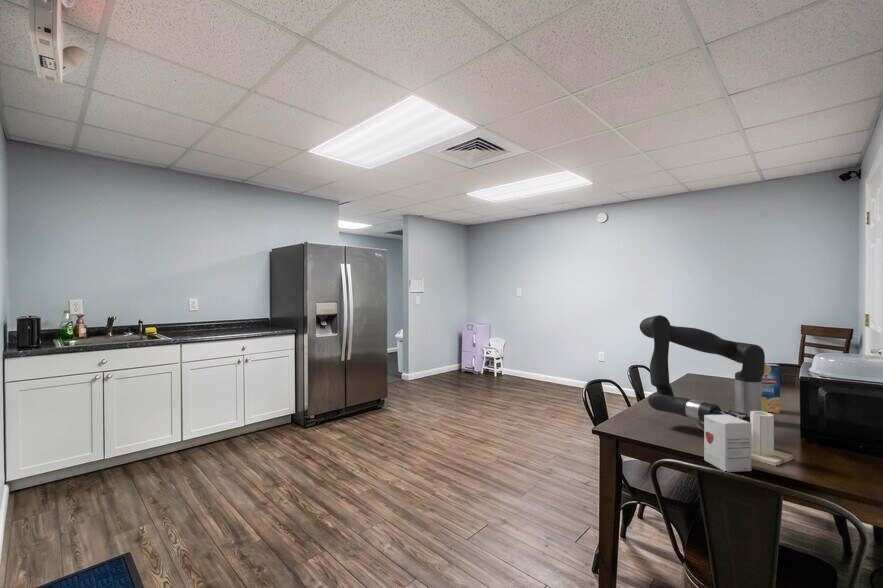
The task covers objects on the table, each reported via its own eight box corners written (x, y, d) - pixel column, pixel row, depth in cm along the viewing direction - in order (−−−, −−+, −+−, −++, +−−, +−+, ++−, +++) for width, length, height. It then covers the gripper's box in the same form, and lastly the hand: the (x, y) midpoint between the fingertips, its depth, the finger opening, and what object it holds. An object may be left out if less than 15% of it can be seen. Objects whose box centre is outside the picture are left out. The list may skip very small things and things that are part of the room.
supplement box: (702, 460, 128) (702, 414, 128) (728, 459, 128) (728, 413, 129) (725, 472, 119) (725, 423, 119) (752, 471, 119) (752, 422, 119)
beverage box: (780, 413, 179) (780, 365, 179) (751, 411, 183) (751, 364, 183) (773, 409, 186) (773, 363, 186) (745, 407, 189) (745, 362, 189)
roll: (755, 447, 135) (755, 409, 135) (777, 453, 130) (777, 414, 130) (746, 450, 133) (746, 412, 133) (768, 457, 127) (768, 417, 127)
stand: (751, 446, 139) (751, 418, 139) (793, 459, 128) (793, 428, 128) (732, 452, 134) (732, 422, 134) (774, 466, 123) (774, 433, 123)
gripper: (691, 404, 145) (741, 415, 131) (713, 399, 152) (762, 410, 137) (691, 424, 145) (741, 438, 131) (713, 418, 152) (763, 431, 137)
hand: (752, 423), depth 134 cm, fingers open, 8 cm apart
